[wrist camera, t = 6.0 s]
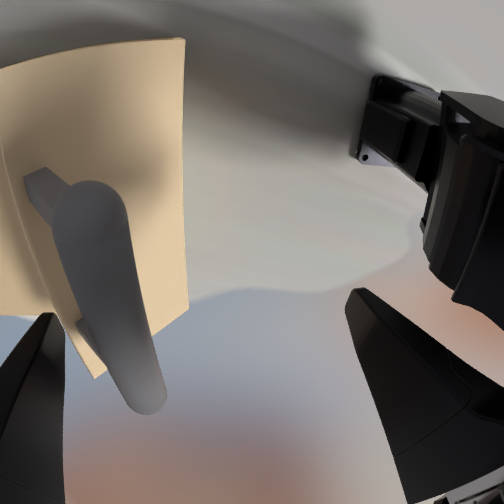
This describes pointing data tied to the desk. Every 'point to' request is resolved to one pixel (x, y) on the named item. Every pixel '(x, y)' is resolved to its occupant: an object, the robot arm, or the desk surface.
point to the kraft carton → (23, 247)
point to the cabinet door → (103, 198)
